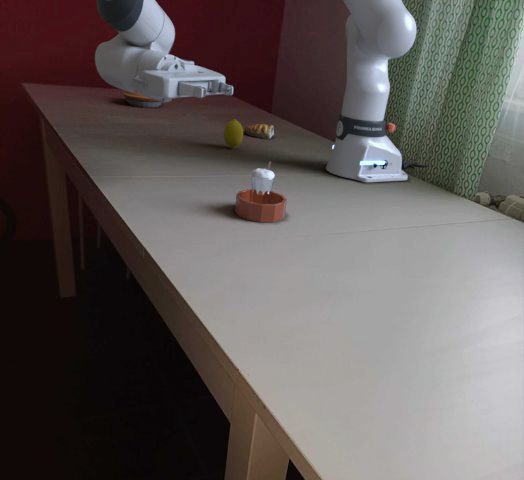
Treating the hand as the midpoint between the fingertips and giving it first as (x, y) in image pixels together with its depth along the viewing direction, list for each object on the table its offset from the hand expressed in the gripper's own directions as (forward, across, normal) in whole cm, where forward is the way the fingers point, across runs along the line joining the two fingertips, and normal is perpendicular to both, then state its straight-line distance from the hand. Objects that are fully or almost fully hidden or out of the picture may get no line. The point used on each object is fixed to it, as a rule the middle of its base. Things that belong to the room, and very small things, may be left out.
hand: (218, 92), depth 105 cm
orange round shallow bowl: (+13, 0, +20) cm, 24 cm away
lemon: (-21, +42, +21) cm, 52 cm away
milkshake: (+13, 0, +21) cm, 24 cm away
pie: (-78, +70, +23) cm, 108 cm away
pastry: (-25, +65, +21) cm, 73 cm away
